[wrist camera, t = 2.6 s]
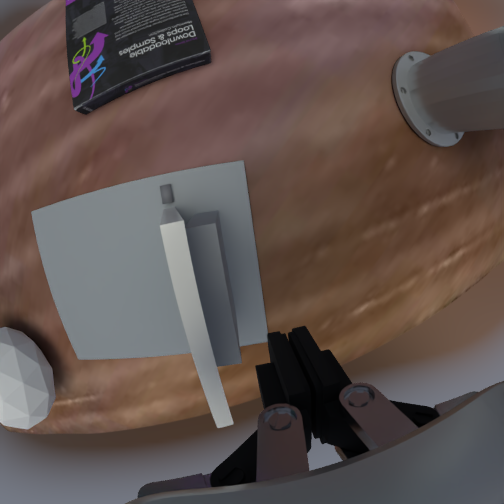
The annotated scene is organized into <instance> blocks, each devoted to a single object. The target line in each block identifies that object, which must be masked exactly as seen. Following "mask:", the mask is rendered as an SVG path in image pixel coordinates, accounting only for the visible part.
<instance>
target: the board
mask: <svg viewBox="0 0 504 504" xmlns="http://www.w3.org/2000/svg"><path fill="white" fill-rule="evenodd" d="M169 207H175V208H176V210H177V211H178V213H179V214H180V216H181V217H182V219H183V220H184V225H185V230H186V235H187V241H188V246H189V251H190V256H191V261H192V266H193V271H194V275H195V280H196V285H197V289H198V294H199V298H200V302H201V307H202V311H203V315H204V319H205V323H206V327H207V331H208V335H209V339H210V343H211V347H212V351H213V355H214V358H215V362H216V366H217V367H218V366H225V365H232V364H239V363H242V360H241V352H240V346H245V345H251V344H257V343H263V342H268V340H267V334H268V331H267V324H266V316H265V309H264V302H263V295H262V287H261V280H260V273H259V266H258V259H257V252H256V244H255V237H254V230H253V223H252V216H251V209H250V202H249V195H248V188H247V181H246V174H245V167H244V161H236V162H229V163H222V164H216V165H210V166H204V167H198V168H193V169H187V170H182V171H177V172H172V173H167V174H162V175H158V176H153V177H149V178H144V179H140V180H136V181H132V182H127V183H123V184H120V185H116V186H112V187H108V188H104V189H101V190H97V191H94V192H90V193H87V194H83V195H80V196H77V197H74V198H70V199H67V200H64V201H61V202H58V203H55V204H52V205H49V206H46V207H43V208H40V209H38V210H35V211H32V212H31V213H32V219H33V224H34V229H35V234H36V238H37V243H38V247H39V251H40V255H41V259H42V263H43V266H44V270H45V273H46V277H47V280H48V283H49V287H50V290H51V293H52V296H53V299H54V301H55V304H56V307H57V310H58V312H59V315H60V318H61V320H62V323H63V325H64V328H65V330H66V333H67V335H68V337H69V339H70V342H71V344H72V346H73V348H74V351H75V353H76V355H77V357H78V359H121V358H140V357H154V356H166V355H176V354H186V353H191V350H190V346H189V343H188V340H187V336H186V333H185V329H184V326H183V322H182V319H181V315H180V311H179V307H178V304H177V300H176V296H175V292H174V288H173V284H172V280H171V276H170V271H169V267H168V262H167V258H166V253H165V249H164V244H163V239H162V234H161V229H160V222H161V217H162V212H163V209H165V208H169Z"/></svg>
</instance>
